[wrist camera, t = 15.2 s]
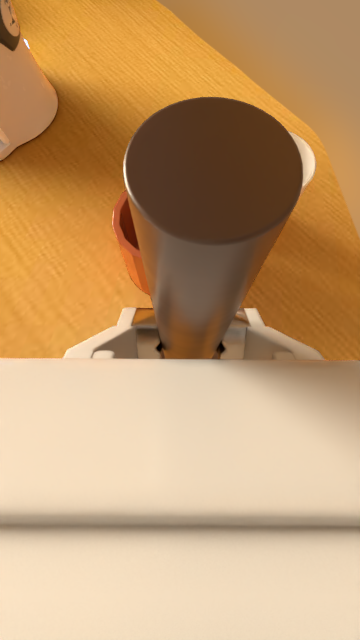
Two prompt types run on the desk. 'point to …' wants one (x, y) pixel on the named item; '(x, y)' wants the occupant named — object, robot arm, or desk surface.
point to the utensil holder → (129, 242)
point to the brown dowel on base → (207, 212)
